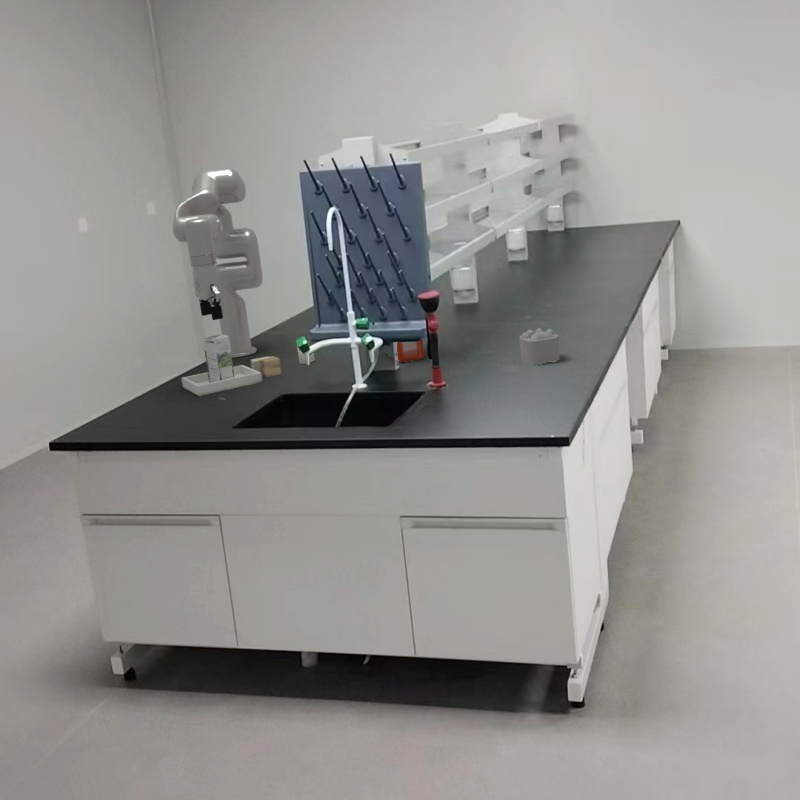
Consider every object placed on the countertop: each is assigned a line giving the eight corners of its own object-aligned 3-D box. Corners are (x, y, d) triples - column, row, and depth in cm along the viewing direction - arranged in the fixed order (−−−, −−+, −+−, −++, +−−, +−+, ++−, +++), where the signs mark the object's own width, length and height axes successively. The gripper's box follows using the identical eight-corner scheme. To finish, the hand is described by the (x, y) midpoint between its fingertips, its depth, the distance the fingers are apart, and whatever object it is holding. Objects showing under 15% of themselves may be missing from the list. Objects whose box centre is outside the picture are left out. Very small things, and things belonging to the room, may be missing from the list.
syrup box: (223, 379, 318) (216, 333, 314) (236, 381, 314) (228, 334, 311) (209, 384, 314) (201, 338, 310) (221, 386, 310) (214, 339, 307)
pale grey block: (296, 362, 334) (294, 344, 333) (311, 359, 337) (308, 341, 335) (303, 364, 330) (300, 346, 329) (317, 361, 332) (314, 343, 331)
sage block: (252, 371, 328) (250, 359, 327) (270, 368, 330) (268, 356, 329) (255, 374, 325) (253, 361, 324) (273, 370, 327) (271, 358, 326)
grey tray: (183, 387, 317) (181, 377, 316) (243, 374, 326) (242, 364, 325) (199, 396, 303) (197, 386, 302) (262, 382, 312) (261, 372, 311)
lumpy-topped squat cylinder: (529, 366, 296) (527, 337, 294) (515, 357, 309) (513, 329, 306) (563, 361, 298) (561, 331, 296) (548, 352, 310) (546, 324, 308)
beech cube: (260, 374, 323) (258, 359, 321) (275, 371, 325) (273, 356, 324) (266, 377, 318) (264, 361, 317) (281, 374, 321) (279, 358, 319)
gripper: (182, 260, 311) (191, 315, 315) (200, 265, 296) (209, 323, 301) (205, 256, 314) (214, 310, 319) (225, 260, 299) (234, 318, 304)
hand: (212, 316), depth 310 cm, fingers open, 9 cm apart
